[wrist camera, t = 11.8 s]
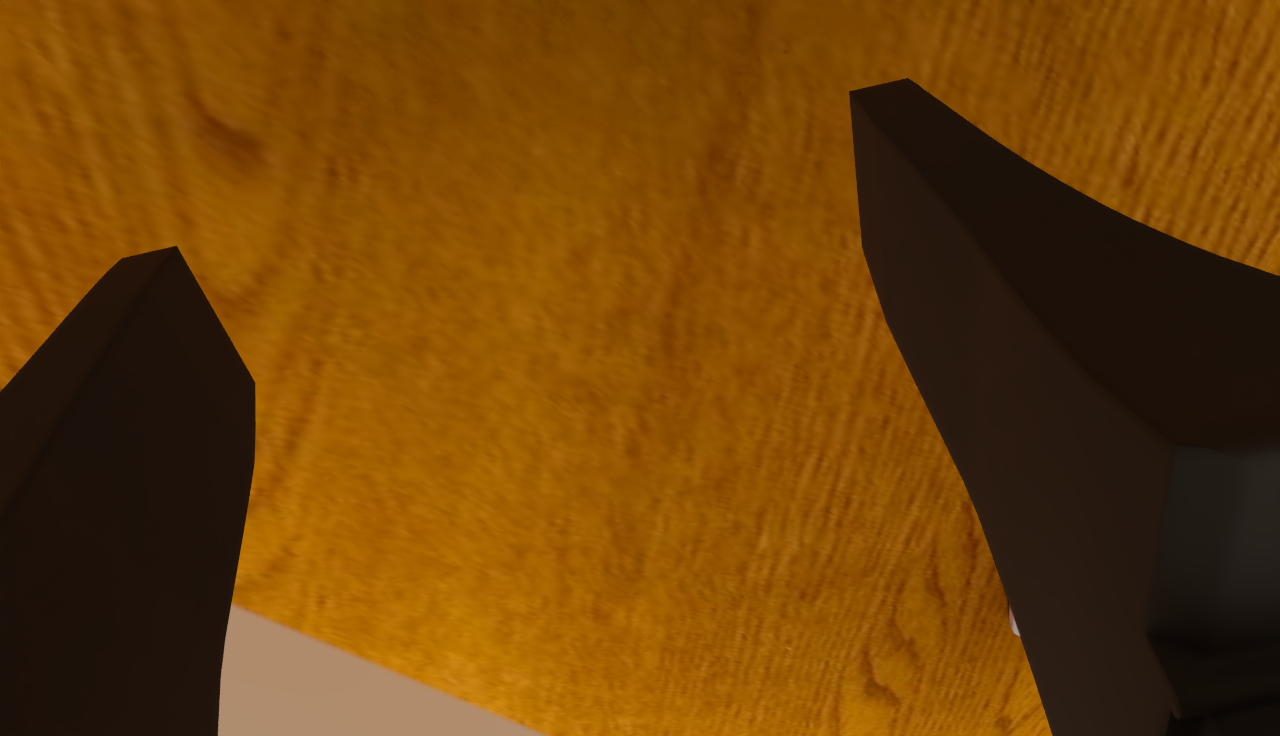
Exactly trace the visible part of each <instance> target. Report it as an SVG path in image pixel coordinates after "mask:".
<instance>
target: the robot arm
mask: <svg viewBox="0 0 1280 736" xmlns="http://www.w3.org/2000/svg"><path fill="white" fill-rule="evenodd" d="M849 95H850V107H851V119H852V131H853V143H854V155H855V167H856V179H857V191H858V203H859V215H860V227H861V239H862V248H863V251H864V255H865V258H866V261H867V264H868V267H869V270H870V273H871V276H872V280H873V283H874V286H875V289H876V292H877V295H878V298H879V301H880V304H881V307H882V310H883V313H884V316H885V319H886V322H887V324H888V327H889V329H890V331H891V333H892V335H893V337H894V339H895V341H896V343H897V346H898V348H899V350H900V352H901V354H902V356H903V358H904V360H905V362H906V364H907V366H908V368H909V371H910V373H911V375H912V377H913V379H914V381H915V383H916V385H917V387H918V389H919V391H920V393H921V395H922V397H923V399H924V401H925V403H926V405H927V408H928V410H929V412H930V414H931V416H932V418H933V420H934V422H935V424H936V426H937V428H938V430H939V432H940V434H941V436H942V438H943V440H944V442H945V444H946V446H947V449H948V451H949V453H950V455H951V457H952V459H953V461H954V463H955V465H956V467H957V469H958V471H959V473H960V475H961V477H962V479H963V481H964V484H965V486H966V488H967V491H968V493H969V495H970V498H971V500H972V502H973V505H974V507H975V509H976V512H977V514H978V517H979V520H980V522H981V525H982V528H983V531H984V534H985V536H986V539H987V542H988V545H989V548H990V551H991V553H992V556H993V559H994V562H995V565H996V567H997V570H998V573H999V576H1000V579H1001V582H1002V584H1003V587H1004V590H1005V593H1006V596H1007V599H1008V602H1009V605H1010V609H1009V623H1010V625H1011V628H1012V630H1013V633H1014V634H1016V635H1017V636H1020V637H1021V640H1022V643H1023V646H1024V649H1025V652H1026V655H1027V658H1028V661H1029V664H1030V667H1031V670H1032V673H1033V676H1034V679H1035V682H1036V685H1037V688H1038V691H1039V695H1040V698H1041V701H1042V704H1043V707H1044V710H1045V713H1046V716H1047V719H1048V723H1049V726H1050V729H1051V732H1052V735H1053V736H1280V276H1277V275H1274V274H1271V273H1268V272H1265V271H1262V270H1260V269H1257V268H1254V267H1251V266H1248V265H1245V264H1242V263H1239V262H1236V261H1233V260H1230V259H1227V258H1224V257H1221V256H1219V255H1216V254H1213V253H1211V252H1208V251H1206V250H1203V249H1200V248H1198V247H1195V246H1193V245H1190V244H1188V243H1185V242H1183V241H1181V240H1179V239H1176V238H1174V237H1172V236H1169V235H1167V234H1165V233H1163V232H1160V231H1158V230H1156V229H1153V228H1151V227H1149V226H1147V225H1144V224H1142V223H1140V222H1138V221H1135V220H1133V219H1131V218H1129V217H1127V216H1125V215H1123V214H1121V213H1119V212H1117V211H1115V210H1113V209H1111V208H1109V207H1107V206H1105V205H1103V204H1101V203H1099V202H1097V201H1096V200H1094V199H1092V198H1090V197H1088V196H1087V195H1085V194H1083V193H1081V192H1079V191H1077V190H1076V189H1074V188H1072V187H1070V186H1068V185H1067V184H1065V183H1063V182H1061V181H1059V180H1058V179H1056V178H1054V177H1053V176H1051V175H1049V174H1048V173H1046V172H1044V171H1043V170H1041V169H1039V168H1038V167H1036V166H1034V165H1033V164H1031V163H1030V162H1028V161H1026V160H1025V159H1023V158H1022V157H1020V156H1019V155H1017V154H1016V153H1014V152H1012V151H1011V150H1009V149H1008V148H1006V147H1005V146H1003V145H1002V144H1000V143H999V142H997V141H996V140H994V139H993V138H992V137H990V136H989V135H987V134H986V133H984V132H983V131H981V130H980V129H979V128H977V127H976V126H974V125H973V124H972V123H970V122H969V121H967V120H966V119H964V118H963V117H962V116H960V115H959V114H958V113H956V112H955V111H953V110H952V109H951V108H949V107H948V106H946V105H945V104H944V103H942V102H941V101H939V100H938V99H937V98H935V97H934V96H933V95H931V94H930V93H928V92H927V91H925V90H924V89H923V88H921V87H920V86H918V85H917V84H916V83H914V82H913V81H911V80H910V79H908V78H906V79H902V80H897V81H893V82H889V83H884V84H880V85H876V86H871V87H867V88H863V89H858V90H854V91H849ZM254 461H255V382H254V380H253V378H252V376H251V375H250V373H249V371H248V369H247V368H246V366H245V364H244V363H243V361H242V359H241V357H240V356H239V354H238V352H237V350H236V349H235V347H234V345H233V343H232V342H231V340H230V338H229V336H228V335H227V333H226V331H225V329H224V328H223V326H222V324H221V322H220V321H219V319H218V317H217V315H216V314H215V312H214V310H213V308H212V307H211V305H210V303H209V301H208V300H207V298H206V296H205V295H204V293H203V291H202V289H201V288H200V286H199V284H198V282H197V281H196V279H195V277H194V275H193V274H192V272H191V270H190V268H189V267H188V265H187V263H186V261H185V260H184V258H183V256H182V254H181V253H180V251H179V249H178V247H177V246H174V247H169V248H165V249H161V250H156V251H152V252H148V253H143V254H139V255H135V256H130V257H126V258H122V259H121V260H119V261H118V262H117V263H116V264H115V265H114V266H113V267H112V268H111V269H110V270H109V271H108V272H107V273H106V274H105V275H104V276H103V277H102V278H101V279H100V280H99V281H98V282H97V283H96V284H95V286H94V287H93V288H92V289H91V290H90V291H89V292H88V293H87V294H86V295H85V297H84V298H83V299H82V300H81V301H80V302H79V303H78V304H77V306H76V307H75V308H74V309H73V310H72V311H71V312H70V314H69V315H68V316H67V317H66V318H65V319H64V320H63V322H62V323H61V324H60V325H59V326H58V327H57V328H56V330H55V331H54V332H53V333H52V334H51V335H50V337H49V338H48V339H47V340H46V341H45V342H44V343H43V344H42V346H41V347H40V348H39V349H38V350H37V351H36V352H35V354H34V355H33V356H32V357H31V358H30V359H29V360H28V362H27V363H26V364H25V365H24V366H23V367H22V368H21V369H20V371H19V372H18V373H17V374H16V375H15V376H14V377H13V379H12V380H11V381H10V382H9V383H8V384H7V385H6V386H5V388H4V389H3V390H2V391H1V392H0V736H218V717H219V698H220V678H221V669H222V661H223V653H224V644H225V637H226V631H227V624H228V619H229V613H230V608H231V602H232V596H233V590H234V584H235V579H236V573H237V567H238V561H239V555H240V550H241V544H242V538H243V532H244V526H245V520H246V514H247V508H248V502H249V496H250V489H251V483H252V476H253V469H254Z"/></svg>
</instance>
